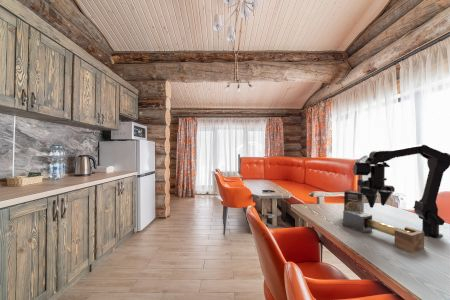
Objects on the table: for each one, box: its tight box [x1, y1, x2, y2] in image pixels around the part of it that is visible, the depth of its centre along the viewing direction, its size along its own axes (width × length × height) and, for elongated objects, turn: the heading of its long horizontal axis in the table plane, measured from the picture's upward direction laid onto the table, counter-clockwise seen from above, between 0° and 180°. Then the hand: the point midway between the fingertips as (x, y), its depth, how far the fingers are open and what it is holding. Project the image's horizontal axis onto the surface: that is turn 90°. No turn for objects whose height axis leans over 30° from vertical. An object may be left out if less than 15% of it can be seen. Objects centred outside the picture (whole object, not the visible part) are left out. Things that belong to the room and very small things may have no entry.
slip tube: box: [365, 218, 412, 238], centre depth 96 cm, size 4×20×4 cm, turn 23°
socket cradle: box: [394, 226, 425, 254], centre depth 87 cm, size 9×6×7 cm, turn 113°
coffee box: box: [343, 189, 365, 213], centre depth 121 cm, size 9×6×16 cm
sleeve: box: [342, 209, 373, 234], centre depth 108 cm, size 7×11×8 cm, turn 23°
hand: (377, 206), depth 105 cm, fingers open, 9 cm apart
